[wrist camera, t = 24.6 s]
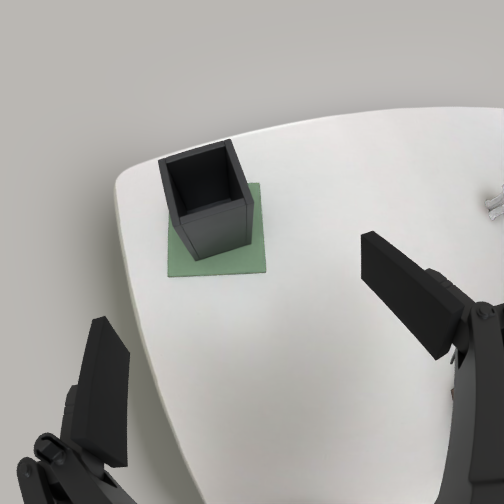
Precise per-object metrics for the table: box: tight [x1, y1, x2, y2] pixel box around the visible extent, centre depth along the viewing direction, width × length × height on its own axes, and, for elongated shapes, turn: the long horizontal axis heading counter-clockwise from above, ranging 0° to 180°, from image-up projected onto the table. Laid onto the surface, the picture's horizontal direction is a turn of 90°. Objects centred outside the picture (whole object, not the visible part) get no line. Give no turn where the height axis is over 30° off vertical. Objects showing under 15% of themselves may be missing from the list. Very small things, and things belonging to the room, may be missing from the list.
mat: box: [168, 183, 266, 277], centre depth 31 cm, size 10×10×1 cm
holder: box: [158, 139, 254, 261], centre depth 26 cm, size 6×6×10 cm
